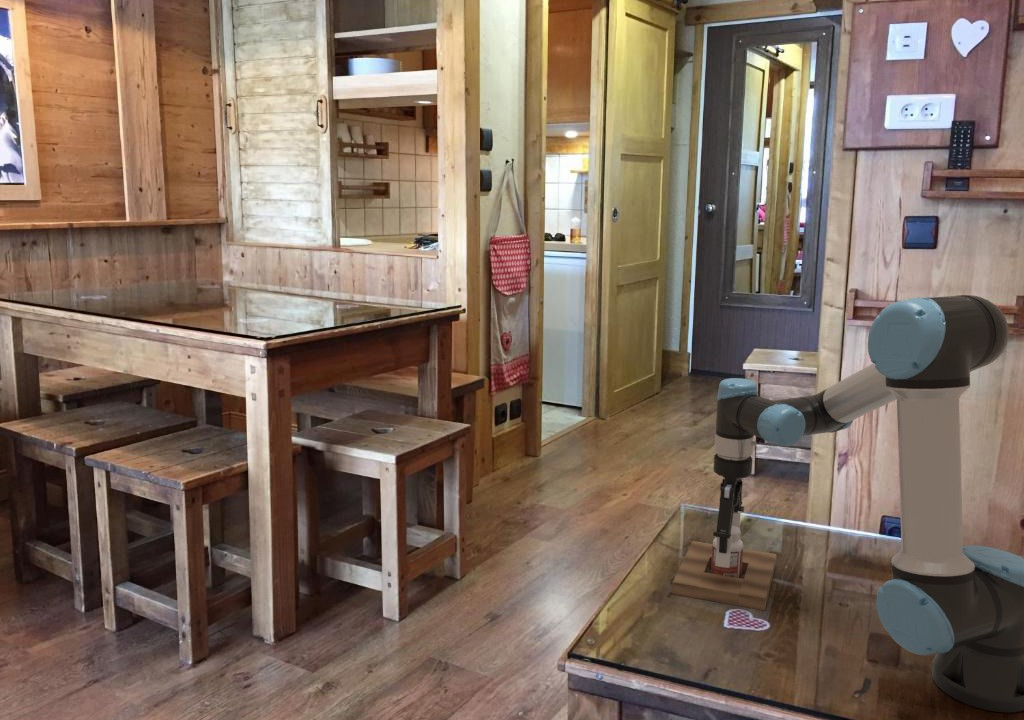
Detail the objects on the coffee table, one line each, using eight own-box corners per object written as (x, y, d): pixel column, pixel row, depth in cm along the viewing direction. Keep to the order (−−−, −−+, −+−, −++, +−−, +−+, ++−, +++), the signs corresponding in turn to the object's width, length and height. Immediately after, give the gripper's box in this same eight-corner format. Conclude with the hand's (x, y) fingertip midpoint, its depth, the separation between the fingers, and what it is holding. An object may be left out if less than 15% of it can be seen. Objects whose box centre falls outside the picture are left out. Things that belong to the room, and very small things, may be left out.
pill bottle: (723, 569, 186) (726, 520, 184) (747, 580, 182) (750, 530, 179) (704, 577, 182) (707, 528, 180) (728, 588, 178) (731, 537, 176)
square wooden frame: (764, 610, 169) (765, 598, 168) (672, 593, 175) (672, 582, 175) (775, 564, 189) (776, 554, 188) (692, 551, 195) (692, 541, 195)
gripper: (744, 476, 164) (737, 581, 168) (759, 440, 187) (753, 533, 191) (704, 471, 167) (698, 574, 171) (723, 436, 189) (718, 528, 194)
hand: (727, 553), depth 181 cm, fingers open, 13 cm apart
